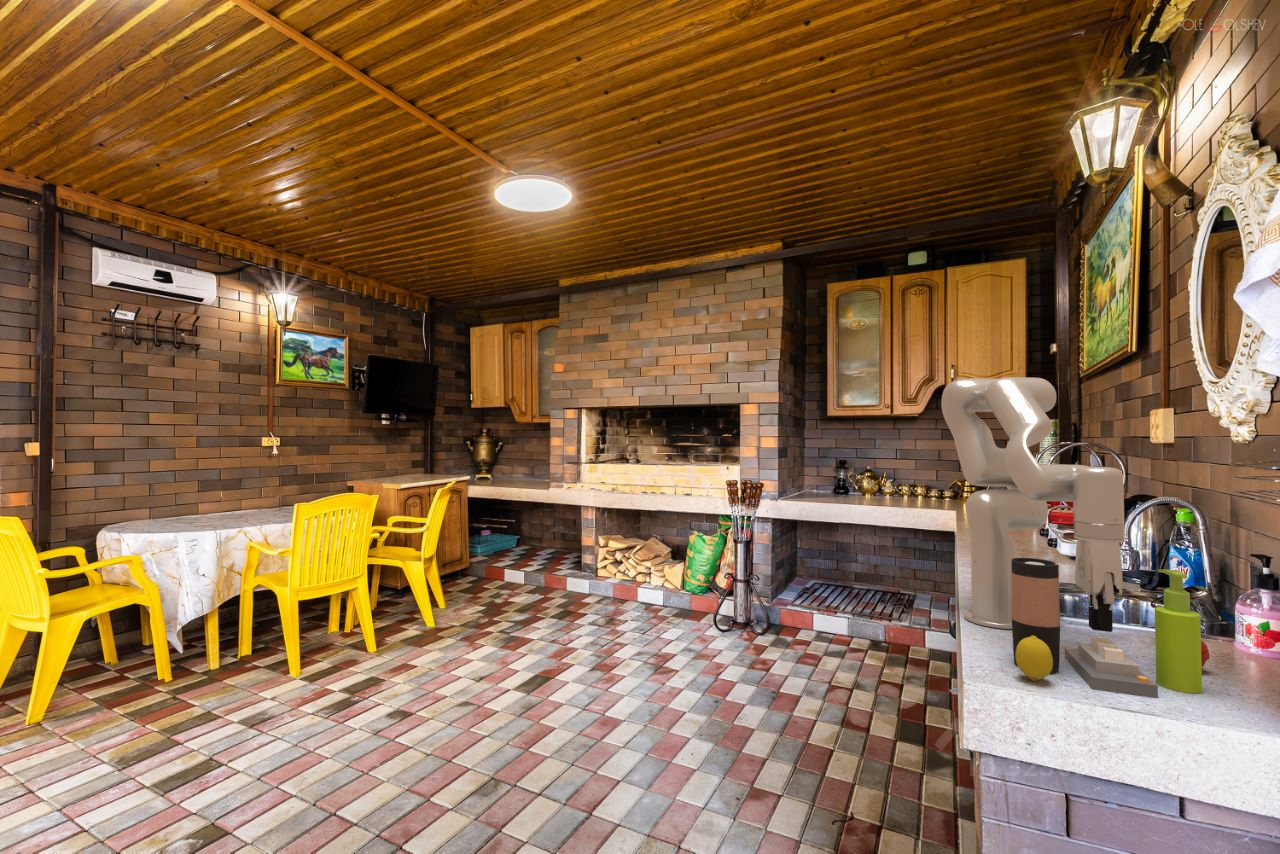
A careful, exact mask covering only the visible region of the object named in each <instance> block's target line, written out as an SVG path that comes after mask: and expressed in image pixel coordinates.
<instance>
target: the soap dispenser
mask: <svg viewBox="0 0 1280 854" xmlns="http://www.w3.org/2000/svg"><path fill="white" fill-rule="evenodd" d="M1157 572H1158V573H1163V574H1165V575H1168V576H1169V587H1167V588H1164V589H1163V606H1156V607H1154V625H1155V627H1154V630H1155V631H1154V633H1155V634H1154V635H1155V636H1154V638H1155V676H1156V677H1155V679H1156V681H1155V683H1157V684H1158V685H1159V686H1161V687H1164V688H1166V689H1169V690H1172V691H1175V692H1181V693H1184V694H1185V693H1187V694H1201V693H1202V692H1203V669H1202V668H1203V667H1202V663H1201V640H1202V635H1201V633H1202V631H1201V630H1202V629H1201V613H1199V612H1196V611H1193V610H1191V595H1190V592H1188V591H1186V590H1185V589H1184V579H1188V574H1186V573H1184V572H1182V571H1179V570H1177V569H1165V568H1164V569H1161V568H1160V569H1157Z"/></svg>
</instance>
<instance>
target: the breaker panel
mask: <svg viewBox="0 0 1280 854" xmlns="http://www.w3.org/2000/svg"><path fill="white" fill-rule="evenodd" d="M1090 637H1091V638H1090V643H1091V644H1088V643H1079V642H1078V644H1077V647H1078V648H1071V647H1064V649H1063V651H1064V659H1065V660H1066V661H1067V663H1068V664H1069V665H1070V666H1071V667H1072V668H1073V669H1074V670H1075V672H1077V674H1078V675H1079V676H1080V677H1081V678H1082V679H1083V680H1084V681H1085V682H1086V683H1087V685H1088V686H1089V687H1090V688H1091V689H1092V690H1099V691H1106V692H1112V693H1120V694H1125V695H1127V694H1128V695H1134V696H1142V697H1149V698H1157V699H1158V698H1159V686H1158V685H1157V684H1156V682H1154V681H1153V680H1152V679H1151V678H1150V677H1148V676H1147V675H1146V674H1144V673H1143V671H1141V670H1140V665H1138V664H1137V663H1136V662H1135V661H1134V660H1132V659H1131V658H1130V657H1129V656H1127V655H1126V654H1125V653H1124V650H1122V649H1121V648H1118V646H1117V645H1116V644H1115V643H1112V641H1111V639H1109V638H1102V637H1095V636H1090Z"/></svg>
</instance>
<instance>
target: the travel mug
mask: <svg viewBox="0 0 1280 854" xmlns="http://www.w3.org/2000/svg"><path fill="white" fill-rule="evenodd" d="M1059 567H1060V565H1059V564H1056V562H1054V561H1052V560H1047V559H1041V558H1033V557H1017V558H1013V559H1012V561H1011V571H1012V629H1011V634H1012V652H1013V655H1012V656H1013V663H1014V665H1015V666H1016V667H1018V665H1017V662H1016V656H1015V655H1016V648H1017V645H1018V643H1019V642H1020V641H1021V640H1022V639H1024V638H1027V637H1031V636H1036V637H1037V638H1038V639H1040V640H1042V641H1043V642H1044V643H1045V644H1046V645H1047V646H1048V647H1049V649H1050V651H1051V654H1052V658H1053V667H1052V670H1051V672H1050V674H1049V675H1054V674H1058V673H1059V671H1060V652H1061V651H1060V650H1061V648H1060V646H1061V645H1060V644H1061V612H1060V611H1061V608H1060V606H1061V605H1060V578H1059V576H1060V575H1059V572H1060V570H1059V569H1060V568H1059Z"/></svg>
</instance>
